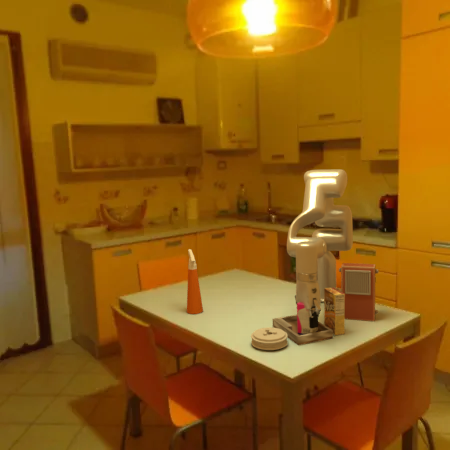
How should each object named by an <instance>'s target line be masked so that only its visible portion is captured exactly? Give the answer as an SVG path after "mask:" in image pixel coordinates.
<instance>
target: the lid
mask: <svg viewBox="0 0 450 450" xmlns="http://www.w3.org/2000/svg"><path fill="white" fill-rule="evenodd" d="M250 337H251V342H250V343H251V345H252V346H253V347H254V348H256V349H258V350H262V351H274V350H275V351H276V350H279V349H283V348H285V347H286V346H288V343H289V342H288V335H287V333H286V332H284V331H283V330H281V329H278V328H274V327H270V326H269V327H261V328H258V329H255V330H254V331H253V332H252V333H251V334H250Z"/></svg>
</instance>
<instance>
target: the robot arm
mask: <svg viewBox="0 0 450 450" xmlns="http://www.w3.org/2000/svg"><path fill="white" fill-rule="evenodd" d="M303 180H304V184H305V185H304V187H305V188H304V195H303V207H302V212H301V213H299V214H298V216H296V217H295V218H294V219H293V221H292V222H291V224H290V226H289V228H288V232H287V239H286V252H287V254H288V255H289V256H290V257H293V258H295V277H296V278H295V280H296V285H295V295H294V299H295V305H297V303H299V302H300V303H302V304H304V306H305V309H307V310H309V313H310V317H309V324H310V328H317V327H318V322H319V316H320V314H321V311H322V308H321V307H322V305H321V303H324V289H325V288H333V287H334V288H335V289H337V290H339V291H340V292H341V288H340V287H337V260H336V257H335V255H334V254H333V253H332V252H333V251H334V252H337V251H338V252H347V251H350V250H351V249H352V248H353V243H354V236H353V235H354V233H353V231H354V230H353V228H354V227H353V213H352V210H351V208H350V206H349V205H345V204H344V205H343V204H342V205H340V204H339V205H337V204H335V202H334V201H335V200H334V199H339V198H342V197H343V195H344V193H345V190H346V189H347V188H346V187H347V185H348V174H347V172H346V170H344V169H339V168H338V169H337V168H336V169H311V170H307V171H306V172H304V175H303ZM313 223H315V225H316V226H317V227H322V228H317V229H315V230H314V231H313V232H312V235H311V236H310V237H309V236H297V235H298V233H299V231H300V230H301V229H302V228H304V227H306V226H308V225H310V224H313ZM331 251H332V252H331ZM312 305H313V307H314V308H311V307H312ZM312 310H314V311H315V312H314V313H312Z"/></svg>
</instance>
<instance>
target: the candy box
mask: <svg viewBox="0 0 450 450" xmlns="http://www.w3.org/2000/svg"><path fill="white" fill-rule="evenodd" d="M323 303H324V305H323V307H324V309H323V312H324V314H323V315H324V318H323V319H324V323H323V325H325V326H327V327H328V328H330V329H332V330H333V336H340V335H345V325H346V324H345V322H346V319H345V294H344V293H342V292H340V291H339V290H337V289H335V288H334V287H333V288H325V289H324V302H323Z"/></svg>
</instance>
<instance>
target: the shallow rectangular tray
mask: <svg viewBox="0 0 450 450" xmlns="http://www.w3.org/2000/svg"><path fill="white" fill-rule="evenodd" d="M272 328H278V329H281V330H283V331H284V332H286V333H287V335H288V337H287V339H289V340H290V341H292V342H294V344H296V345H297V346H301V345H306V344H307V345H308V344H311V343H317V342H321V341H326V340H331V339H334V334H333V330H332V329H330V328H328V327H327V326H325V325H324V323H322V322H320V321H318V332H315V333H310V334H305V335H300V334H298V328H297V314H292V315H287V316H285V315H284V316H282V317H274V318H272Z"/></svg>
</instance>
